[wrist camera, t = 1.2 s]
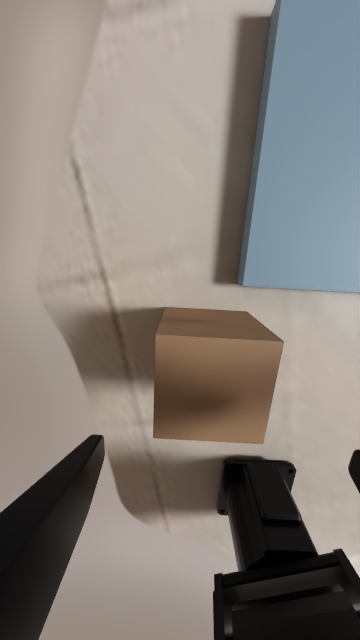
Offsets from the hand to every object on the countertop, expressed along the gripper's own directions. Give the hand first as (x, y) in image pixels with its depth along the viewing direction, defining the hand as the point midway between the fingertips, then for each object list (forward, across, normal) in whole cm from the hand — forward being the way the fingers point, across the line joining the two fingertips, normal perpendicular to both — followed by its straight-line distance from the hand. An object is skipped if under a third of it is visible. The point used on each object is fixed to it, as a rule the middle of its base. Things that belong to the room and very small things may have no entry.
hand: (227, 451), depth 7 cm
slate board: (+9, -9, -12) cm, 18 cm away
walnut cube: (+9, 0, 0) cm, 9 cm away
